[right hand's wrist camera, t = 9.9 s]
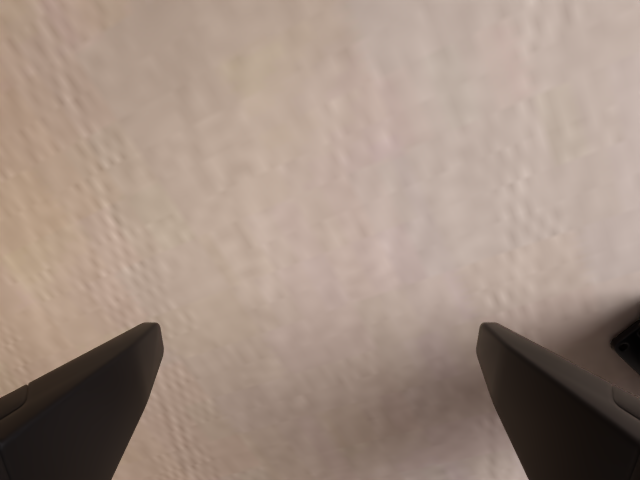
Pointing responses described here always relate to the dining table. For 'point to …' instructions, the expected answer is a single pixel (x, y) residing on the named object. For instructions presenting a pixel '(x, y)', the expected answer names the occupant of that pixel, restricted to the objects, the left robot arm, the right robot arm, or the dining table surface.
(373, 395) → the dining table surface
